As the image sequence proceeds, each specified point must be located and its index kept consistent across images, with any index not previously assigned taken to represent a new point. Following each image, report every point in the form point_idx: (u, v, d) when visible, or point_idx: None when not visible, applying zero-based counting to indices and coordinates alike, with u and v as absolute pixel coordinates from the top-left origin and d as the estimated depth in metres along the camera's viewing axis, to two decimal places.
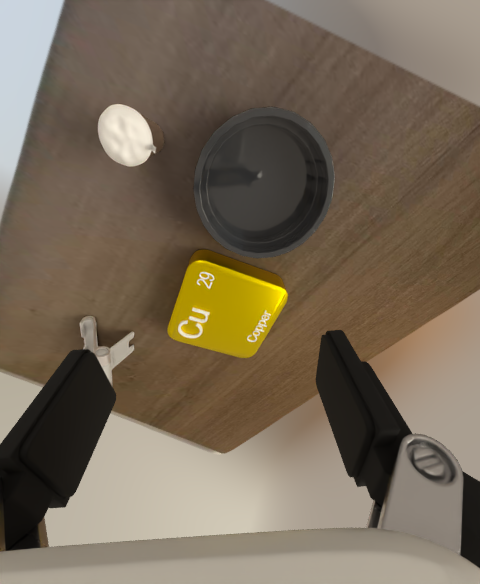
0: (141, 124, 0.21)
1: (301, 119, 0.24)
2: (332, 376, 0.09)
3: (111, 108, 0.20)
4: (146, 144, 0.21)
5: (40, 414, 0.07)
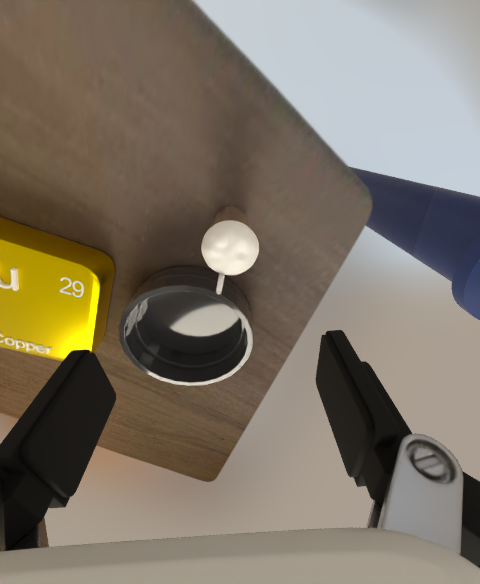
0: (241, 271, 0.20)
1: (244, 361, 0.31)
2: (332, 376, 0.09)
3: (255, 245, 0.19)
4: (223, 272, 0.20)
5: (40, 414, 0.07)
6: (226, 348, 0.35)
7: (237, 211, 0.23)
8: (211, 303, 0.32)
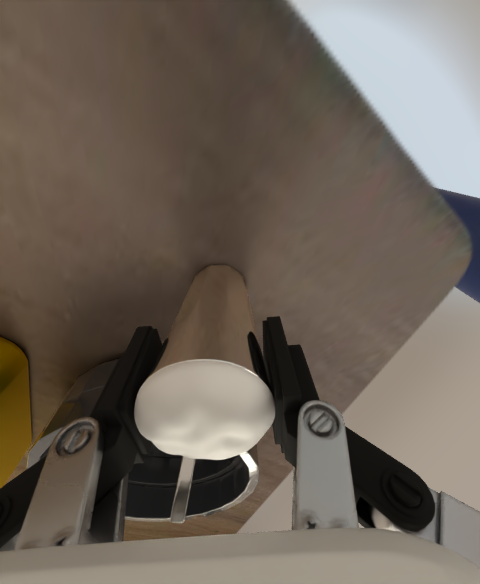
0: (233, 455, 0.09)
1: (245, 496, 0.19)
2: (266, 357, 0.10)
3: (268, 416, 0.08)
4: None
5: (128, 377, 0.08)
6: None
7: (228, 288, 0.12)
8: None
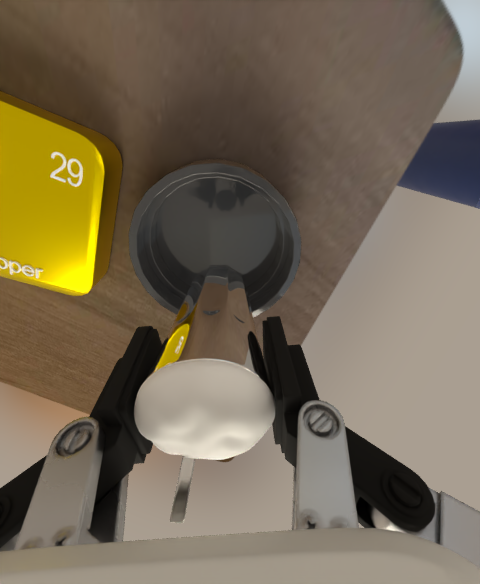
0: None
1: (286, 287, 0.24)
2: (266, 357, 0.10)
3: (268, 416, 0.08)
4: None
5: (128, 377, 0.08)
6: (258, 282, 0.28)
7: (228, 287, 0.12)
8: (243, 217, 0.25)
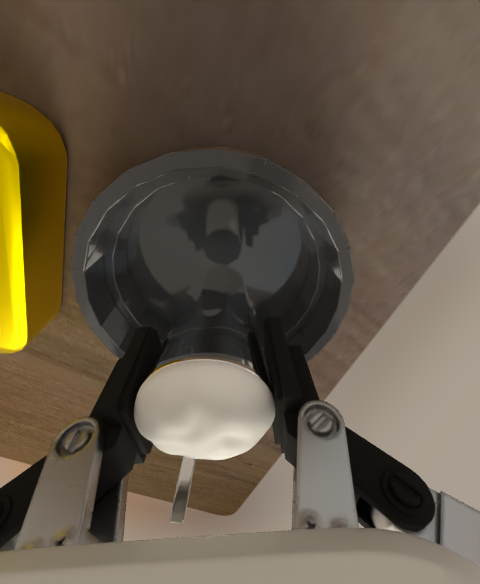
0: (233, 455, 0.09)
1: (323, 344, 0.16)
2: (266, 357, 0.10)
3: (268, 416, 0.08)
4: None
5: (128, 377, 0.08)
6: None
7: (228, 288, 0.12)
8: (257, 236, 0.17)
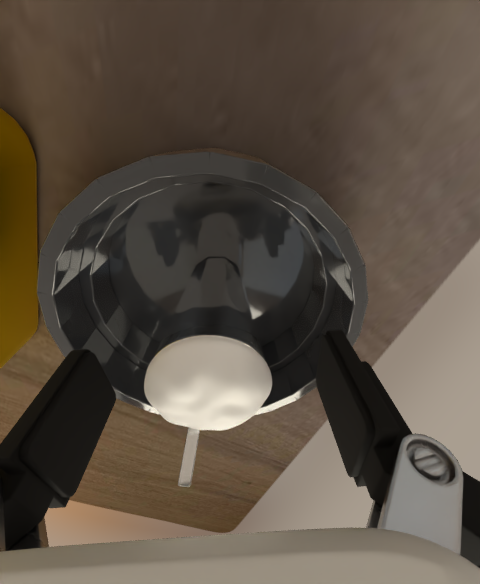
0: (234, 426, 0.10)
1: None
2: (332, 376, 0.09)
3: (265, 386, 0.08)
4: (197, 428, 0.10)
5: (40, 414, 0.07)
6: (277, 344, 0.18)
7: (226, 277, 0.13)
8: (255, 249, 0.15)
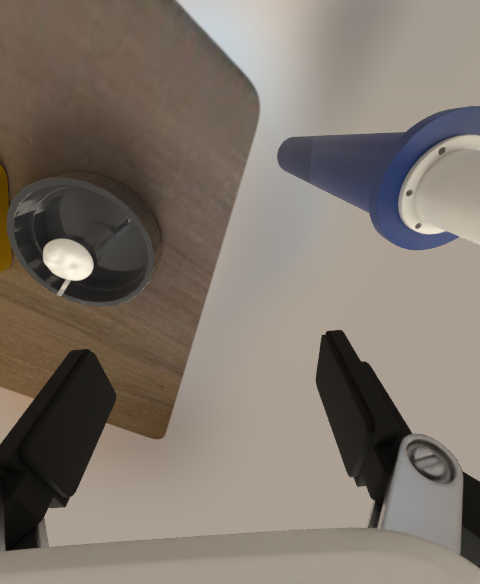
0: (80, 277, 0.26)
1: (149, 274, 0.30)
2: (332, 376, 0.09)
3: (85, 257, 0.25)
4: (67, 279, 0.26)
5: (40, 414, 0.07)
6: (141, 272, 0.34)
7: (92, 228, 0.29)
8: (116, 218, 0.31)
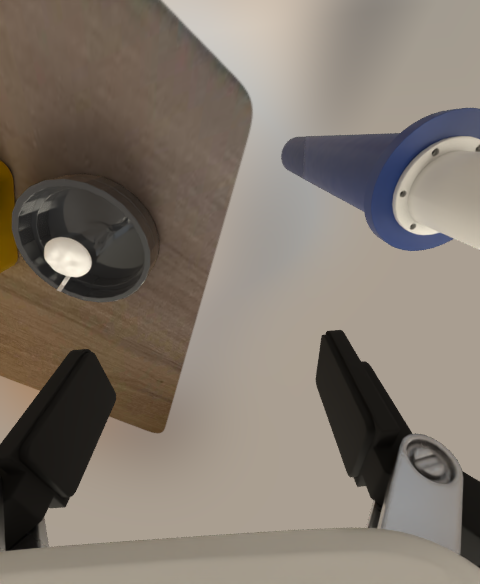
0: (79, 274, 0.27)
1: (146, 272, 0.32)
2: (332, 376, 0.09)
3: (83, 255, 0.26)
4: (66, 275, 0.27)
5: (40, 414, 0.07)
6: (139, 269, 0.36)
7: (92, 227, 0.30)
8: (115, 218, 0.32)
